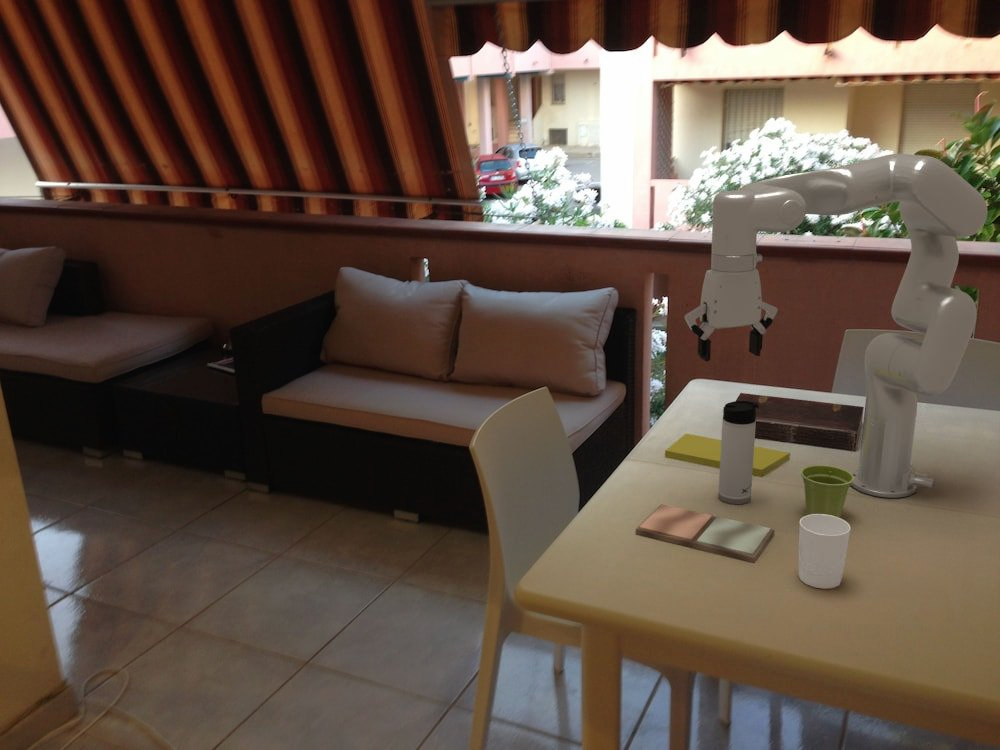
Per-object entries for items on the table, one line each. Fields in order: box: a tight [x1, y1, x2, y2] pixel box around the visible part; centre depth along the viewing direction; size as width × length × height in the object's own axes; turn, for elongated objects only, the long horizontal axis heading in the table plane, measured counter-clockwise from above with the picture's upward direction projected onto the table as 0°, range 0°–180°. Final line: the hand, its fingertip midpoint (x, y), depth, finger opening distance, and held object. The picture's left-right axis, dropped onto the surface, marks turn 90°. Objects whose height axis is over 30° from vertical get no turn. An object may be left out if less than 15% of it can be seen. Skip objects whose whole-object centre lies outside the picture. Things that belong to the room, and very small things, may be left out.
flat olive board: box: [664, 433, 791, 478], centre depth 204 cm, size 12×2×24 cm
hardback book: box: [735, 392, 865, 453], centre depth 220 cm, size 29×19×5 cm, turn 65°
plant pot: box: [800, 464, 854, 518], centre depth 175 cm, size 9×9×9 cm
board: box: [635, 504, 775, 564], centre depth 170 cm, size 22×12×1 cm, turn 59°
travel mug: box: [718, 400, 759, 505], centre depth 182 cm, size 6×7×20 cm
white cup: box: [798, 514, 852, 590], centre depth 153 cm, size 8×8×10 cm
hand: (729, 356), depth 168 cm, fingers open, 9 cm apart
